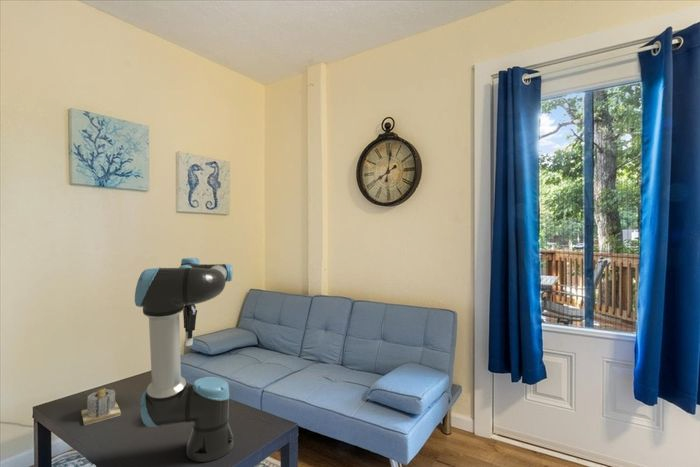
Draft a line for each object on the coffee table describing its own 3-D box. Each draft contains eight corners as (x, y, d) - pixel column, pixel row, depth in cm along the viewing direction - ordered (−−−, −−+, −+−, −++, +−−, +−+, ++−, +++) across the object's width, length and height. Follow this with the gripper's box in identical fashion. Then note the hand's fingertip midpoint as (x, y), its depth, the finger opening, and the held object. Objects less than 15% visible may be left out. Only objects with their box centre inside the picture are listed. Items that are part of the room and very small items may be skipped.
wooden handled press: (120, 415, 142) (121, 390, 142) (84, 425, 134) (84, 399, 134) (116, 404, 151) (116, 380, 151) (81, 413, 143) (81, 388, 143)
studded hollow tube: (116, 412, 142) (116, 395, 142) (88, 419, 136) (88, 401, 136) (112, 404, 149) (113, 387, 149) (86, 410, 143) (86, 393, 143)
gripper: (203, 293, 154) (202, 347, 154) (193, 289, 164) (193, 340, 164) (185, 295, 149) (184, 350, 149) (176, 291, 159) (175, 343, 159)
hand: (189, 345), depth 156 cm, fingers closed
